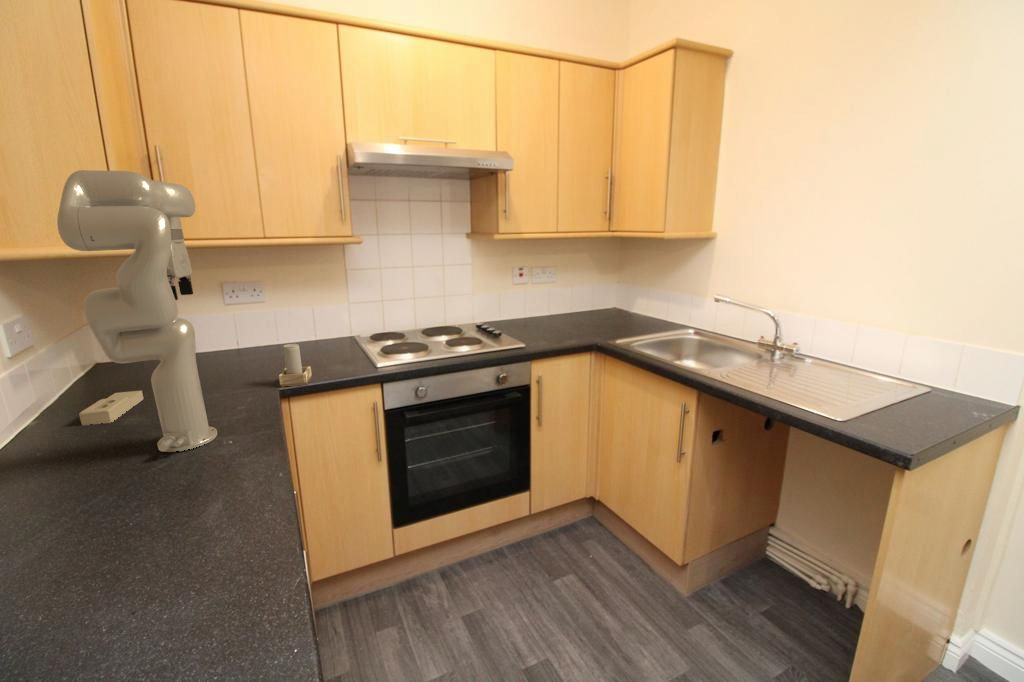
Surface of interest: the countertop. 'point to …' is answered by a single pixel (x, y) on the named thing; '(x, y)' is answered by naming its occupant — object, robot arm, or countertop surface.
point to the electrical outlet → (110, 408)
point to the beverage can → (292, 359)
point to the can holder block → (295, 377)
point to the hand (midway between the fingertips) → (179, 297)
